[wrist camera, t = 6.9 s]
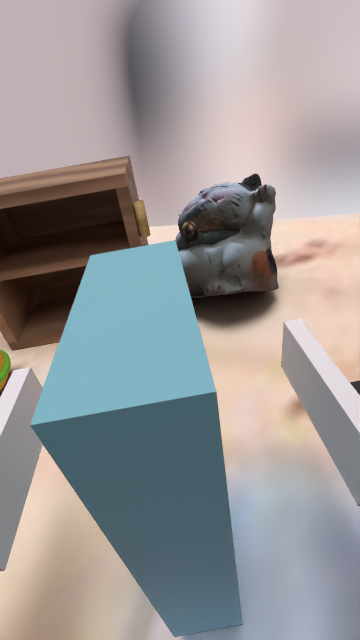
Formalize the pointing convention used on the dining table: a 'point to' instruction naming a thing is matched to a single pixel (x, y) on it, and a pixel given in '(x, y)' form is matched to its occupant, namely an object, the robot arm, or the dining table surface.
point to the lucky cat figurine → (228, 239)
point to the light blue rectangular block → (145, 433)
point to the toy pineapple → (4, 368)
